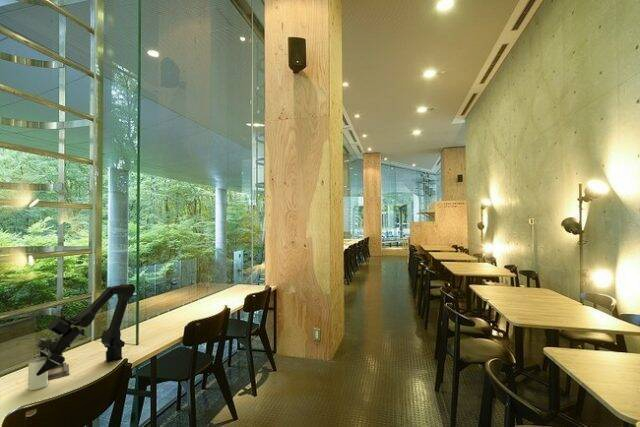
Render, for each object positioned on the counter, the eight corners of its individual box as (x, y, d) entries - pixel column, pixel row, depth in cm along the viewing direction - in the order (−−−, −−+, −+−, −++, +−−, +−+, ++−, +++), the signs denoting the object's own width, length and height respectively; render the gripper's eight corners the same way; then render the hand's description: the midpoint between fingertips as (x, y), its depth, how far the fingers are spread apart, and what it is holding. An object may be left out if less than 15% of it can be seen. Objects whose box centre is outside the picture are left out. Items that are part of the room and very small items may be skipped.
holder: (68, 364, 164) (68, 361, 164) (69, 374, 153) (69, 370, 153) (31, 373, 155) (31, 369, 155) (29, 384, 144) (29, 380, 144)
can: (45, 381, 147) (45, 355, 147) (49, 386, 143) (49, 358, 143) (26, 387, 142) (26, 360, 142) (29, 392, 138) (29, 364, 138)
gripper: (45, 326, 152) (13, 358, 143) (55, 334, 140) (21, 369, 131) (66, 338, 158) (36, 369, 149) (77, 347, 146) (46, 381, 137)
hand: (34, 372), depth 141 cm, fingers open, 9 cm apart
